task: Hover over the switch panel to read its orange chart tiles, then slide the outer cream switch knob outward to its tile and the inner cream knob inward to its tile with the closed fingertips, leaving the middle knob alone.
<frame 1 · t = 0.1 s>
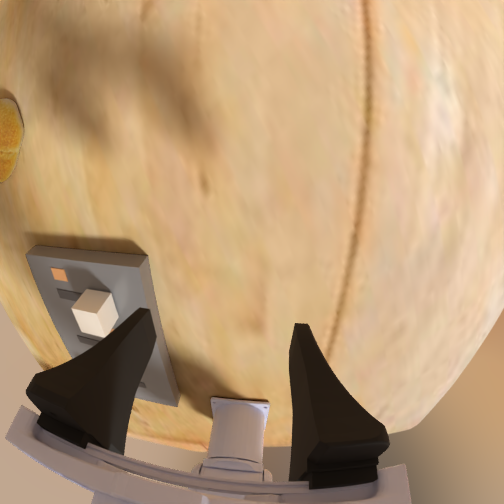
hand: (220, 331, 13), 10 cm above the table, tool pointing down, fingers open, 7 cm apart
switch panel: (109, 333, 29), on the table
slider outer: (95, 312, 23), point 4 cm above the table, slide at 0.0 cm
bread roll: (6, 138, 18), on the table
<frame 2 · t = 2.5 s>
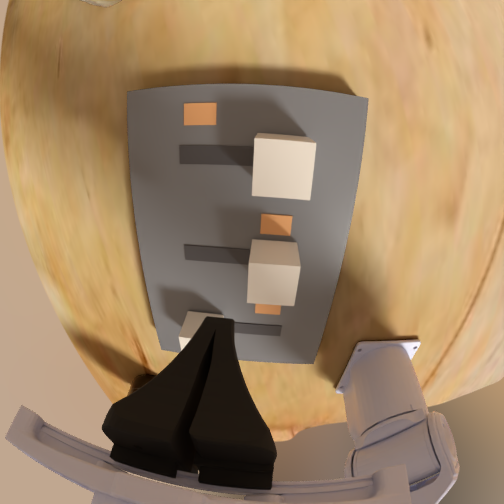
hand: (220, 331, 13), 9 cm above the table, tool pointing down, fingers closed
switch panel: (240, 242, 21), on the table
slider middle: (272, 272, 18), point 4 cm above the table, slide at 0.0 cm
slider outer: (282, 163, 15), point 4 cm above the table, slide at 0.0 cm
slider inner: (203, 338, 22), point 4 cm above the table, slide at 5.0 cm
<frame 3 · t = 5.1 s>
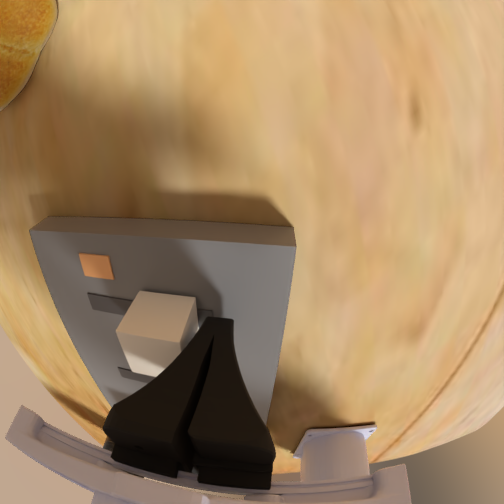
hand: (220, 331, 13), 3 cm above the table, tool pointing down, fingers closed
switch panel: (173, 361, 19), on the table
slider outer: (162, 336, 13), point 4 cm above the table, slide at 1.0 cm, touching gripper
bread roll: (19, 45, 9), on the table
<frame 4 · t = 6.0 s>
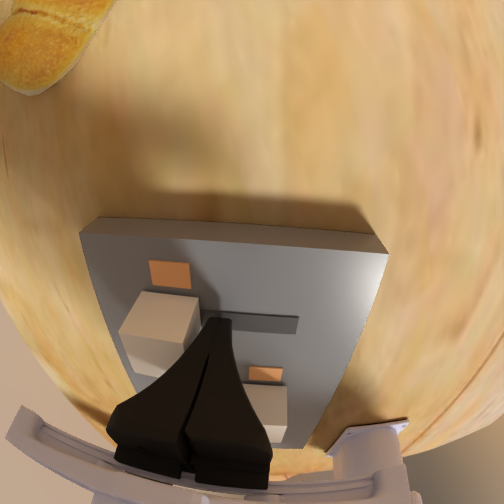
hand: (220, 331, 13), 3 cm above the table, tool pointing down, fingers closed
switch panel: (229, 369, 19), on the table
slider middle: (261, 414, 16), point 4 cm above the table, slide at 0.0 cm
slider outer: (164, 336, 13), point 4 cm above the table, slide at 5.1 cm, touching gripper
bread roll: (62, 23, 8), on the table
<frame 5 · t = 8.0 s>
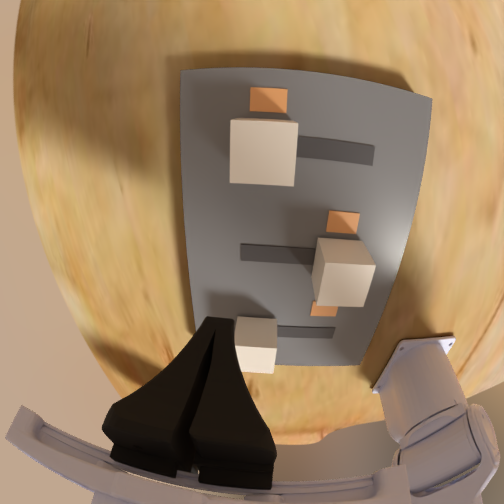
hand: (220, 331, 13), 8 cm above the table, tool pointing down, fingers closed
switch panel: (297, 241, 20), on the table
slider middle: (340, 272, 17), point 4 cm above the table, slide at 0.0 cm
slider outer: (263, 148, 13), point 4 cm above the table, slide at 5.1 cm
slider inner: (255, 345, 20), point 4 cm above the table, slide at 5.0 cm
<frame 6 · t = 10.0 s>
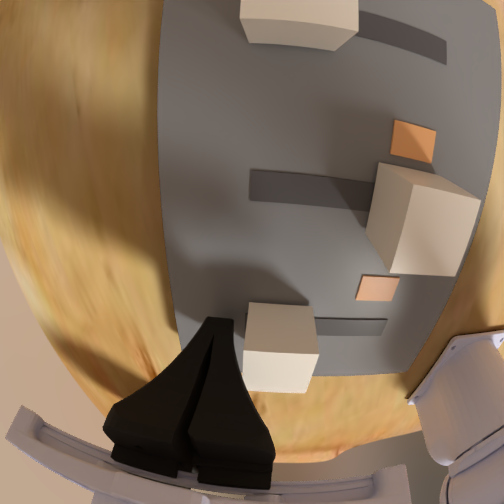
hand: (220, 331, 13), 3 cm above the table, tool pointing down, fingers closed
switch panel: (337, 180, 12), on the table
slider middle: (419, 217, 9), point 4 cm above the table, slide at 0.0 cm
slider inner: (277, 349, 12), point 4 cm above the table, slide at 4.6 cm, touching gripper
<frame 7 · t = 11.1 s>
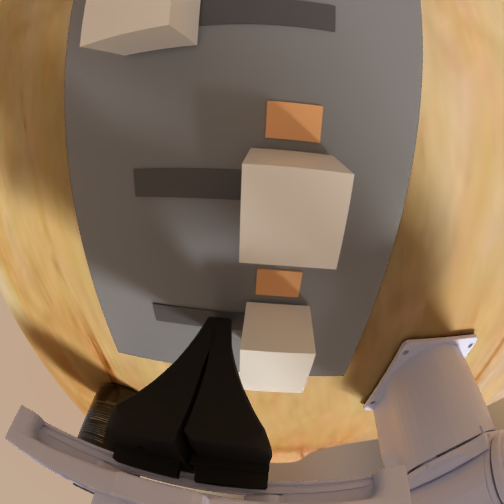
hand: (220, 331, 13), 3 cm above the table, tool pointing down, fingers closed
supplement bottle: (129, 398, 24), on the table
switch panel: (230, 172, 12), on the table
slider middle: (291, 202, 9), point 4 cm above the table, slide at 0.0 cm
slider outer: (145, 6, 6), point 4 cm above the table, slide at 5.1 cm
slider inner: (275, 348, 12), point 4 cm above the table, slide at -0.1 cm, touching gripper
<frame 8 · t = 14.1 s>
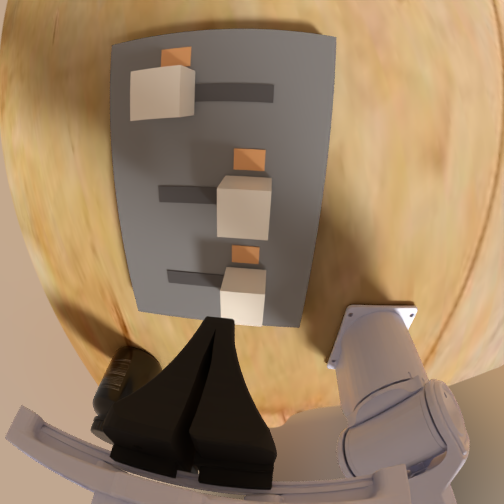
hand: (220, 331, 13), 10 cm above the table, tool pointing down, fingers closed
supplement bottle: (140, 361, 32), on the table
switch panel: (216, 187, 20), on the table
slider middle: (245, 205, 17), point 4 cm above the table, slide at 0.0 cm
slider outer: (163, 93, 14), point 4 cm above the table, slide at 5.1 cm
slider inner: (243, 296, 21), point 4 cm above the table, slide at -0.1 cm
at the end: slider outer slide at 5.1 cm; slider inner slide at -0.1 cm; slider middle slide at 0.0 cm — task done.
